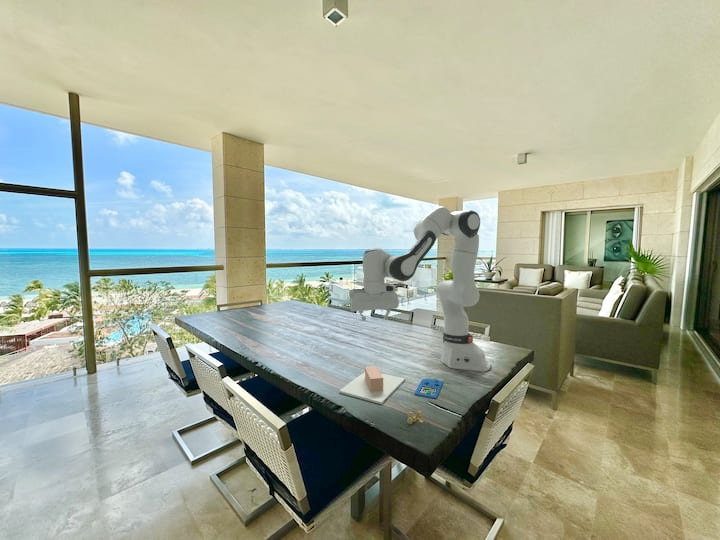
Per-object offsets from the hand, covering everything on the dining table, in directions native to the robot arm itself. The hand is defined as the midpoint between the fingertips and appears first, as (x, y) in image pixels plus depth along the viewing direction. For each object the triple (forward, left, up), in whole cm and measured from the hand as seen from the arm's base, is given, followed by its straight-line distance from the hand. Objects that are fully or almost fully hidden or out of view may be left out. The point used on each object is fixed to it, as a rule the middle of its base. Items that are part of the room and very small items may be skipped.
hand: (374, 320), depth 123 cm
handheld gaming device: (-23, -2, -26) cm, 34 cm away
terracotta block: (+1, +2, -22) cm, 22 cm away
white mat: (-3, +7, -25) cm, 26 cm away
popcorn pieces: (-25, +21, -26) cm, 42 cm away
